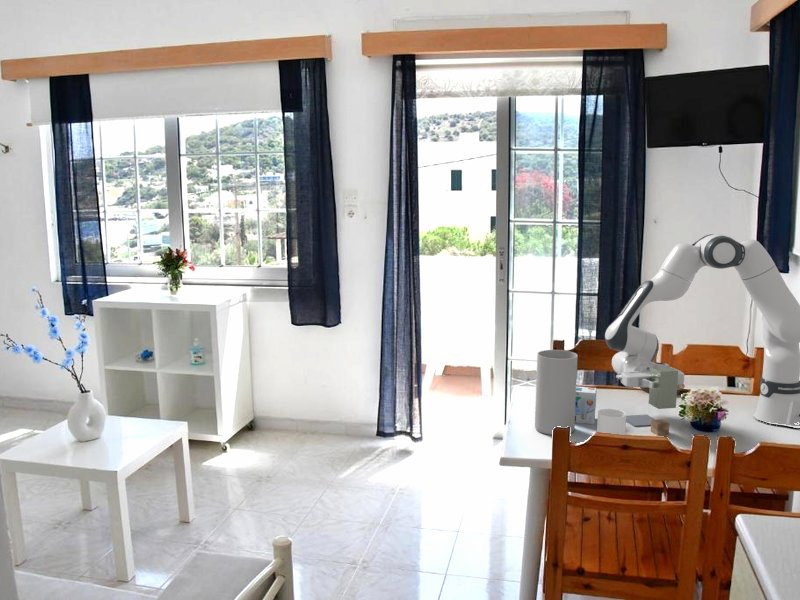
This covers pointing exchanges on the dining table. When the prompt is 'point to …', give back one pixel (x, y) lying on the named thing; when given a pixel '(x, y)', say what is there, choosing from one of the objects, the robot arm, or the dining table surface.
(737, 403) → the dining table surface
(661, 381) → the sage green pillar
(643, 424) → the slate mat
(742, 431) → the dining table surface
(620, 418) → the cup
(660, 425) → the walnut block
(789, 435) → the dining table surface
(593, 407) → the light bulb box
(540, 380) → the cylinder vase
